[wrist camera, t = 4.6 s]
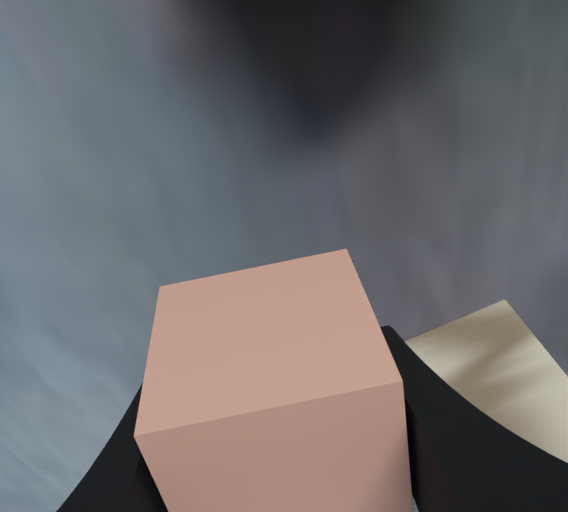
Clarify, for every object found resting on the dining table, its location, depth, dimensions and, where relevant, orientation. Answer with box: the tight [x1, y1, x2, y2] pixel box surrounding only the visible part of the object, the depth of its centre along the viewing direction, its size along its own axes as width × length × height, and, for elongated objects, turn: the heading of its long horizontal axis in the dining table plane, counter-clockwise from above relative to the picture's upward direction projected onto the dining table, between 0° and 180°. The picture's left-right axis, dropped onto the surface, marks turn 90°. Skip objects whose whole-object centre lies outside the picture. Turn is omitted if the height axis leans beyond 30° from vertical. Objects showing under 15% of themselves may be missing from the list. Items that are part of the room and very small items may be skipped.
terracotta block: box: [134, 249, 413, 512], centre depth 13 cm, size 5×5×5 cm
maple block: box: [404, 300, 568, 463], centre depth 22 cm, size 5×5×5 cm
